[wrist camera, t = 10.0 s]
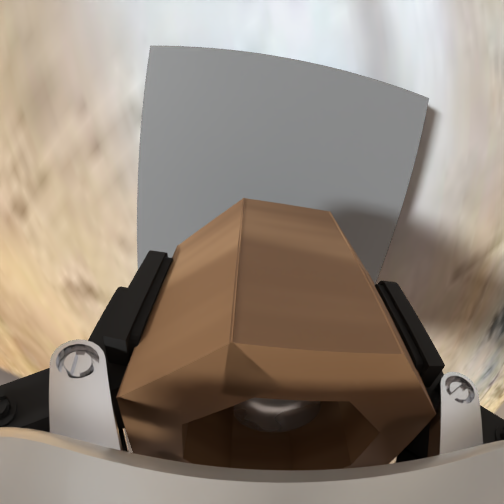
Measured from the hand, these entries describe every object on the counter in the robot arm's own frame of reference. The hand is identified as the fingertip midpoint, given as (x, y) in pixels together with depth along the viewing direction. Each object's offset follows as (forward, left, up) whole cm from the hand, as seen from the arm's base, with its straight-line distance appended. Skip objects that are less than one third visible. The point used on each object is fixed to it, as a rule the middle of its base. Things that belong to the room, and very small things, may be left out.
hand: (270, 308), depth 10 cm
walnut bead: (0, 0, -1) cm, 1 cm away
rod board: (0, 0, -7) cm, 7 cm away
